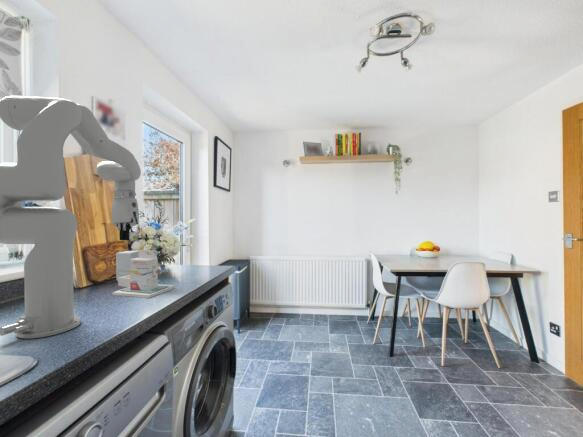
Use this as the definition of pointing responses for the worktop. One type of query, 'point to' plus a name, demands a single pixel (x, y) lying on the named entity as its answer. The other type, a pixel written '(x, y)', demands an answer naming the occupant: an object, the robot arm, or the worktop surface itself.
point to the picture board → (144, 291)
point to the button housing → (124, 281)
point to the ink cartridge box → (144, 271)
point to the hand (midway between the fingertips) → (124, 240)
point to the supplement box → (124, 262)
